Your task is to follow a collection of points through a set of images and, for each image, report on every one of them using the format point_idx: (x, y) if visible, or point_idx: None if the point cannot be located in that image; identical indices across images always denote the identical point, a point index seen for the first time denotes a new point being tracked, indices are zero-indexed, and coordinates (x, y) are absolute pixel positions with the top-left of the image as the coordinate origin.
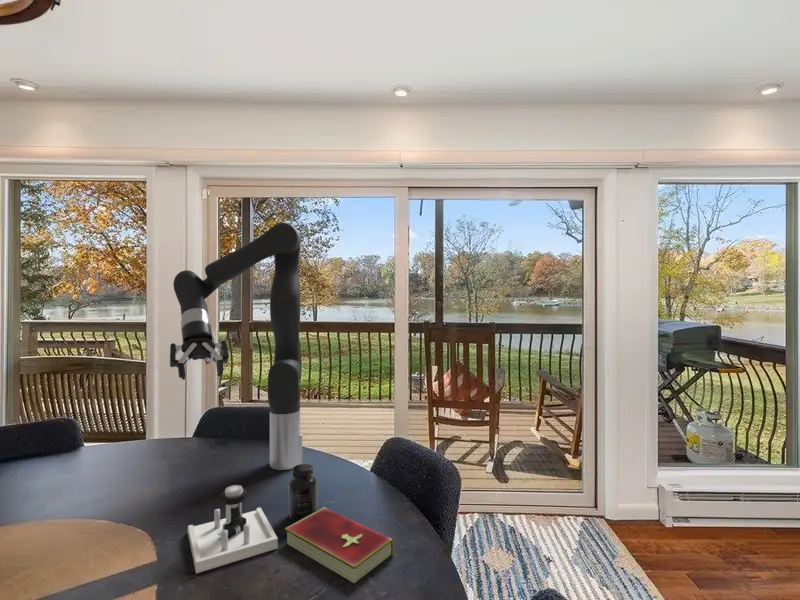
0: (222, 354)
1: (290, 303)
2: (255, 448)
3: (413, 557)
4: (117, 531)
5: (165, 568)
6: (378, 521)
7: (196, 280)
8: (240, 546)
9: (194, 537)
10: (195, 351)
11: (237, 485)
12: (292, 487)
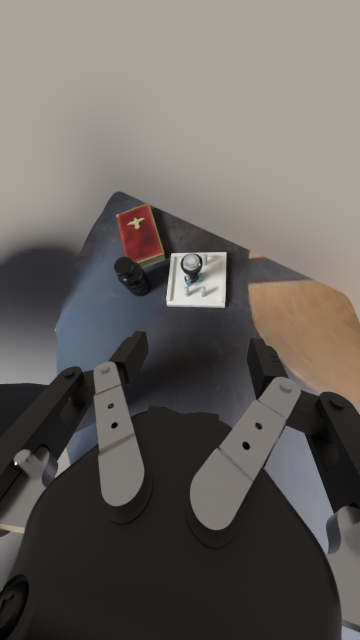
0: (67, 428)
1: None
2: None
3: (113, 217)
4: (280, 343)
5: (243, 271)
6: (104, 254)
7: None
8: None
9: (223, 282)
10: (205, 440)
11: (186, 265)
12: (141, 268)
